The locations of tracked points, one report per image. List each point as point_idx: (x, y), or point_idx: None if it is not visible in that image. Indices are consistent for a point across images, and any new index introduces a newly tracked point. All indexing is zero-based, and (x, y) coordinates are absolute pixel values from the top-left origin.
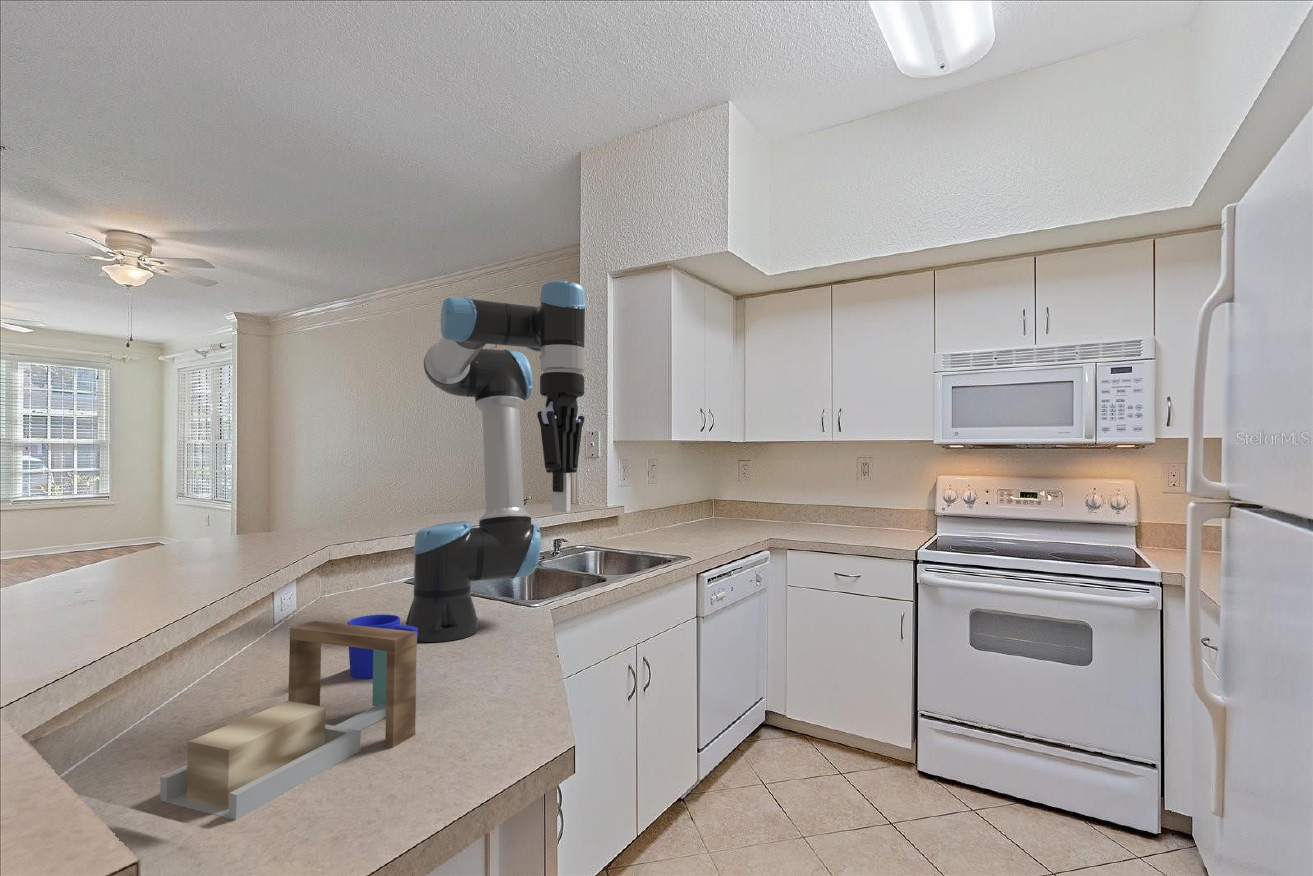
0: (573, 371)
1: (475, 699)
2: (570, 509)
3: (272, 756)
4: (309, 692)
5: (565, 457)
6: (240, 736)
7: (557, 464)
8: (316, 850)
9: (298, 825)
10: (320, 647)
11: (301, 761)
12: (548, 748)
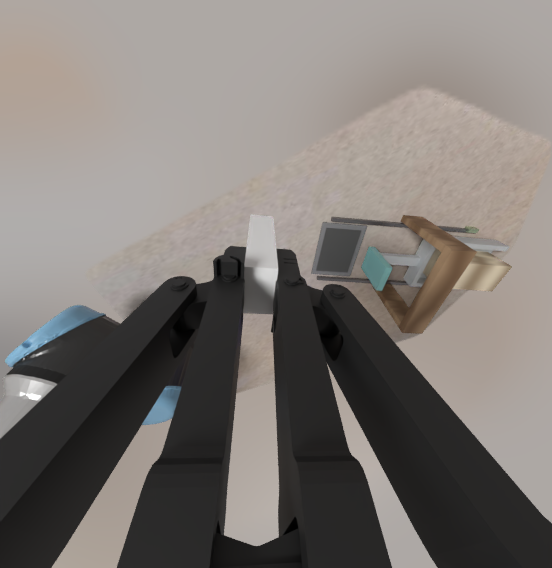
0: None
1: (320, 218)
2: (250, 216)
3: (477, 257)
4: (391, 297)
5: (287, 313)
6: (492, 274)
7: (354, 296)
8: (525, 190)
9: (495, 216)
10: (396, 315)
11: (474, 244)
12: (419, 103)
